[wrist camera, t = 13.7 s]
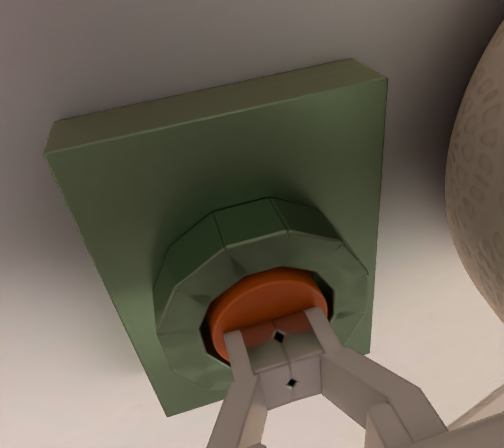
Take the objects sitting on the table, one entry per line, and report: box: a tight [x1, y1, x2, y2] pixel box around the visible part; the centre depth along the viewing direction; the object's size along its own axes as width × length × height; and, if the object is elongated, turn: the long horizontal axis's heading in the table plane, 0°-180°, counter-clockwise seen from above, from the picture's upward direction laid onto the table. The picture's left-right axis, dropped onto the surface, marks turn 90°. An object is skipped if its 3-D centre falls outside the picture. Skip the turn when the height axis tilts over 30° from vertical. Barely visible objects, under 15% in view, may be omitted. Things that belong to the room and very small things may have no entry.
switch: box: [206, 267, 328, 362], centre depth 13 cm, size 4×4×2 cm
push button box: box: [43, 59, 388, 417], centre depth 14 cm, size 12×9×4 cm
